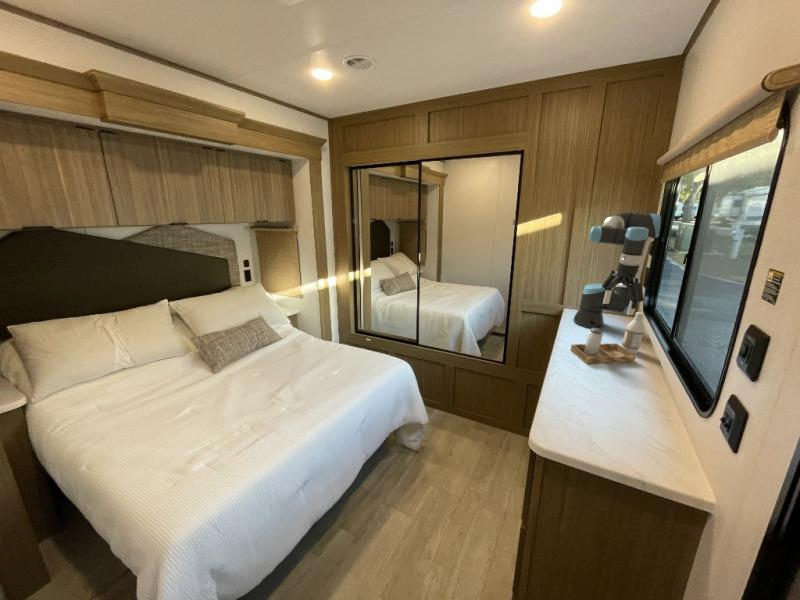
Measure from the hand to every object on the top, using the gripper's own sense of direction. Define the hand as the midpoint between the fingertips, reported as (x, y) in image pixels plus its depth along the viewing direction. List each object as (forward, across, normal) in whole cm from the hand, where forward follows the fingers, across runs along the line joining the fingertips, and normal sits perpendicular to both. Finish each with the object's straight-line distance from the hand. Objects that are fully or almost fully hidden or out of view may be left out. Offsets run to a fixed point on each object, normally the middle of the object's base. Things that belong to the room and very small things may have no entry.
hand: (617, 308), depth 149 cm
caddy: (+23, +3, -5) cm, 23 cm away
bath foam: (+23, +1, +12) cm, 26 cm away
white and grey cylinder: (+22, +2, -11) cm, 24 cm away
